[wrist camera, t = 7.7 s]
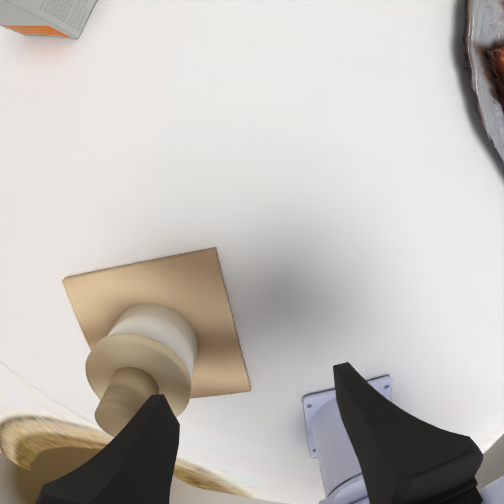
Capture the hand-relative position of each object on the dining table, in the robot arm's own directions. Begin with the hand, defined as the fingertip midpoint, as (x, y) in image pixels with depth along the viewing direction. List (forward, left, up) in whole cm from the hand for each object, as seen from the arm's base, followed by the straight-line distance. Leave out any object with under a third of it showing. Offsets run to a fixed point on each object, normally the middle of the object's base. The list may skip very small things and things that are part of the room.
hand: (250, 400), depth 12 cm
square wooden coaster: (-2, +7, -10) cm, 13 cm away
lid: (-2, +8, -5) cm, 9 cm away
